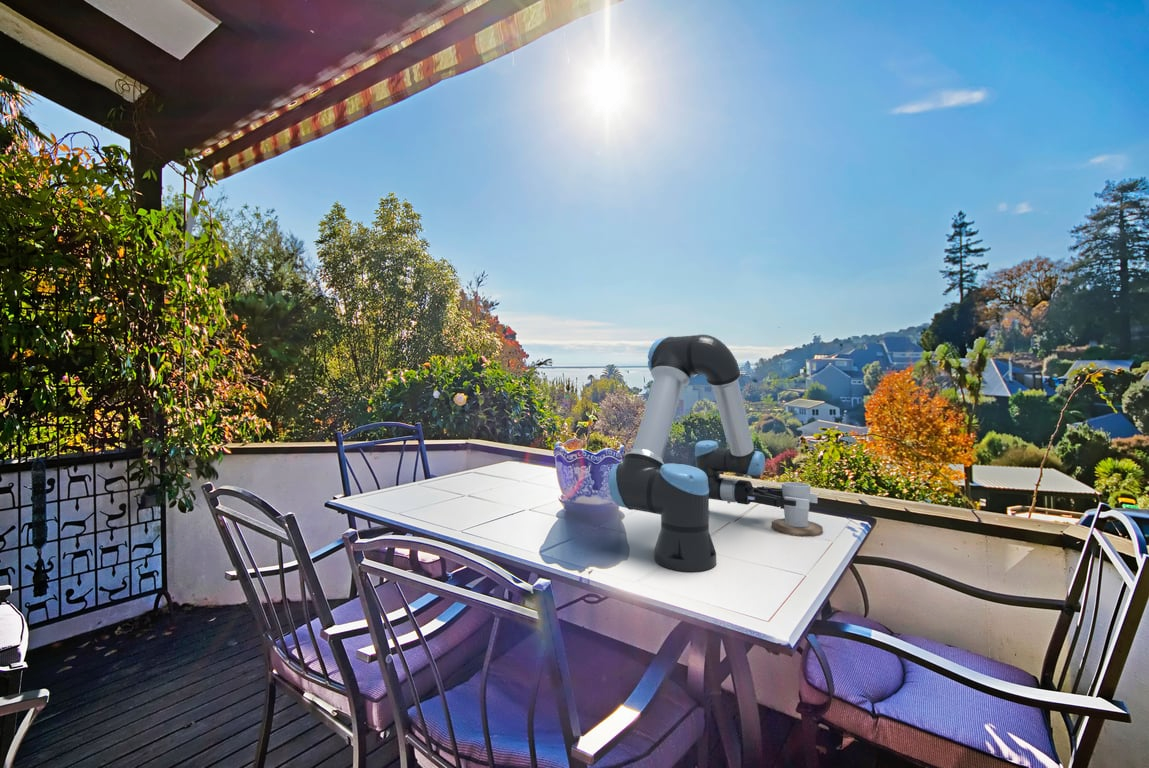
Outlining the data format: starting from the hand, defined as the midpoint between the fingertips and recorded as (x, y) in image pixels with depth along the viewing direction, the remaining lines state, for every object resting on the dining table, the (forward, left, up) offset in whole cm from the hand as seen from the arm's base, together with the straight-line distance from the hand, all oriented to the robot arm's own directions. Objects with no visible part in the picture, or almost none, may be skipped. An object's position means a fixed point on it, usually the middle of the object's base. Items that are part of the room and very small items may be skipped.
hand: (813, 501), depth 143 cm
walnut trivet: (-3, +4, -9) cm, 10 cm away
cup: (-3, +4, -8) cm, 9 cm away
